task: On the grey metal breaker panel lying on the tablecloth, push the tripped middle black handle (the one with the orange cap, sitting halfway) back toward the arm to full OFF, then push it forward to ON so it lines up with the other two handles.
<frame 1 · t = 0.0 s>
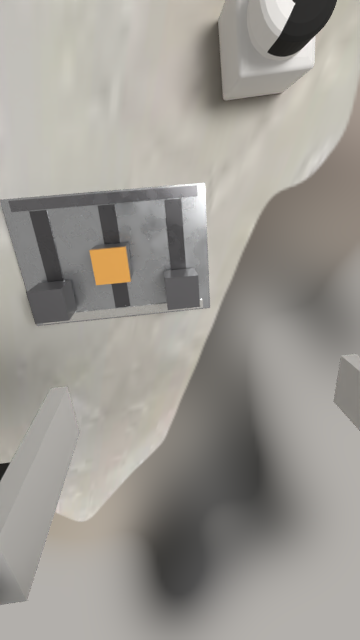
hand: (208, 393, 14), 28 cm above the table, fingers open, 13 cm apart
breaker 2: (181, 288, 37), point 4 cm above the table, slide at 4.0 cm
breaker 1: (53, 301, 36), point 4 cm above the table, slide at 4.0 cm
medicine bottle: (251, 58, 32), on the table
panel: (116, 257, 39), on the table
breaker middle: (112, 263, 35), point 4 cm above the table, slide at 0.0 cm
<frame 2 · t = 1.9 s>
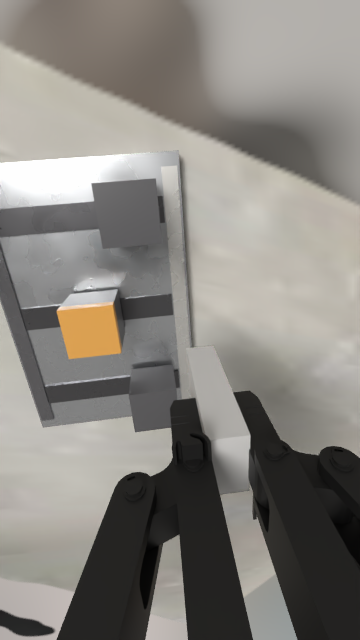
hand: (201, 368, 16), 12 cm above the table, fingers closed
breaker 2: (130, 213, 21), point 4 cm above the table, slide at 4.0 cm
breaker 1: (154, 396, 27), point 4 cm above the table, slide at 4.0 cm
panel: (102, 305, 27), on the table
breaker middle: (94, 322, 23), point 4 cm above the table, slide at 0.0 cm
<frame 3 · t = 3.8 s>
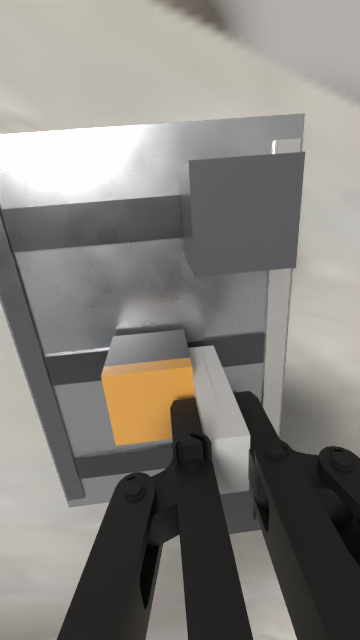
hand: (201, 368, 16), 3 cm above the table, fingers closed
breaker 2: (232, 215, 12), point 4 cm above the table, slide at 4.0 cm
breaker 1: (233, 479, 19), point 4 cm above the table, slide at 4.0 cm
panel: (157, 346, 19), on the table
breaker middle: (152, 382, 15), point 4 cm above the table, slide at -0.3 cm, touching gripper
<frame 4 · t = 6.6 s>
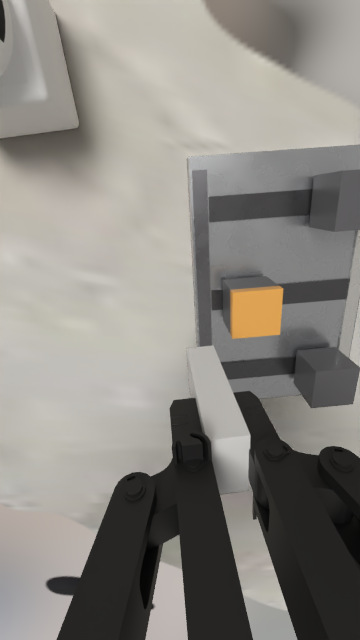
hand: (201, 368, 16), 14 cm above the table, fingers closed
breaker 2: (349, 200, 22), point 4 cm above the table, slide at 4.0 cm
breaker 1: (323, 376, 28), point 4 cm above the table, slide at 4.0 cm
medicine bottle: (22, 80, 22), on the table
panel: (273, 289, 29), on the table
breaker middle: (250, 306, 25), point 4 cm above the table, slide at -3.5 cm
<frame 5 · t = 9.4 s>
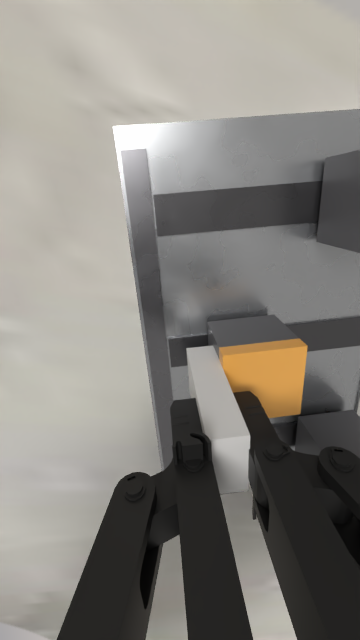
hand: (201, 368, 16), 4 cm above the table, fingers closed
breaker 1: (338, 457, 19), point 4 cm above the table, slide at 4.0 cm
panel: (263, 330, 20), on the table
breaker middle: (250, 365, 16), point 4 cm above the table, slide at -2.1 cm, touching gripper
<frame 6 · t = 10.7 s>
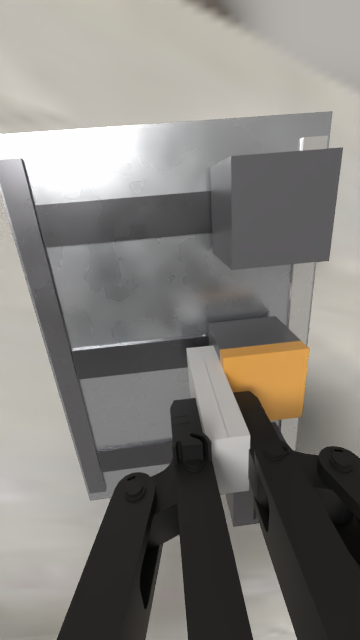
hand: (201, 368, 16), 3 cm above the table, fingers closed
breaker 2: (264, 210, 13), point 4 cm above the table, slide at 4.0 cm
breaker 1: (255, 471, 19), point 4 cm above the table, slide at 4.0 cm
panel: (180, 341, 19), on the table
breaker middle: (252, 367, 16), point 4 cm above the table, slide at 3.6 cm, touching gripper
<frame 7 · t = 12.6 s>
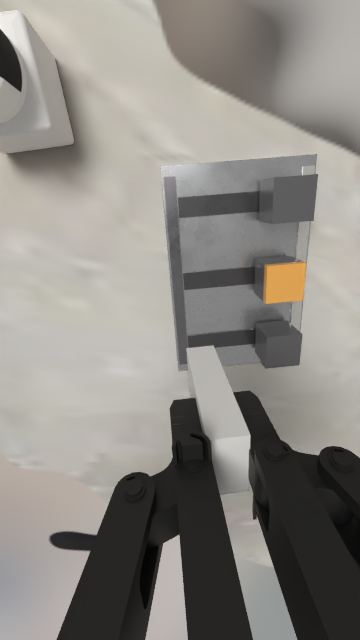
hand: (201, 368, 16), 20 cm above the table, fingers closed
breaker 2: (285, 199, 29), point 4 cm above the table, slide at 4.0 cm
breaker 1: (276, 343, 35), point 4 cm above the table, slide at 4.0 cm
medicine bottle: (29, 107, 28), on the table
panel: (235, 273, 35), on the table
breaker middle: (278, 278, 32), point 4 cm above the table, slide at 3.7 cm
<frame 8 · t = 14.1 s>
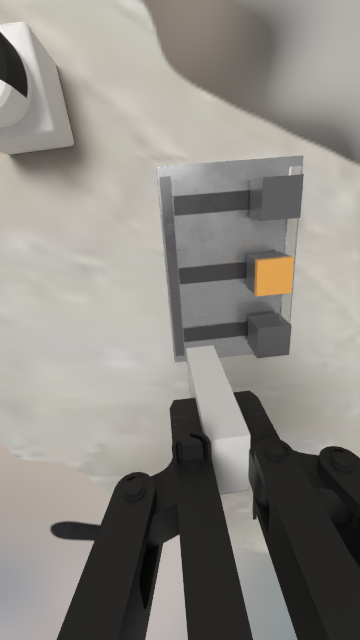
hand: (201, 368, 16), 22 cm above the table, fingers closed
breaker 2: (274, 198, 31), point 4 cm above the table, slide at 4.0 cm
breaker 1: (267, 334, 37), point 4 cm above the table, slide at 4.0 cm
medicine bottle: (31, 111, 29), on the table
panel: (228, 268, 37), on the table
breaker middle: (268, 273, 34), point 4 cm above the table, slide at 3.7 cm
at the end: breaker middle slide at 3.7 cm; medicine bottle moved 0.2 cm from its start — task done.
